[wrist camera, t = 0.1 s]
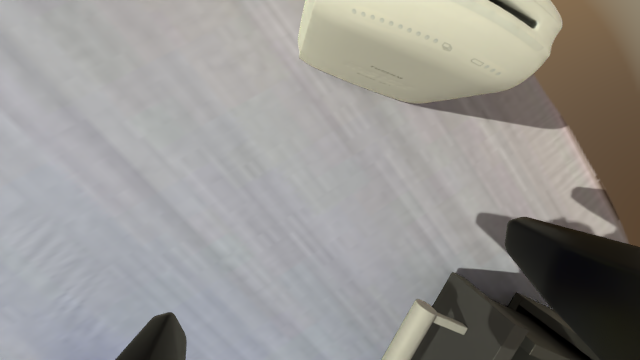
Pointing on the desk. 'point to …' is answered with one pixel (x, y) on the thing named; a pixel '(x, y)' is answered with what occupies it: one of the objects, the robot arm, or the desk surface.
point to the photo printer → (428, 44)
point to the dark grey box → (549, 321)
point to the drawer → (474, 330)
